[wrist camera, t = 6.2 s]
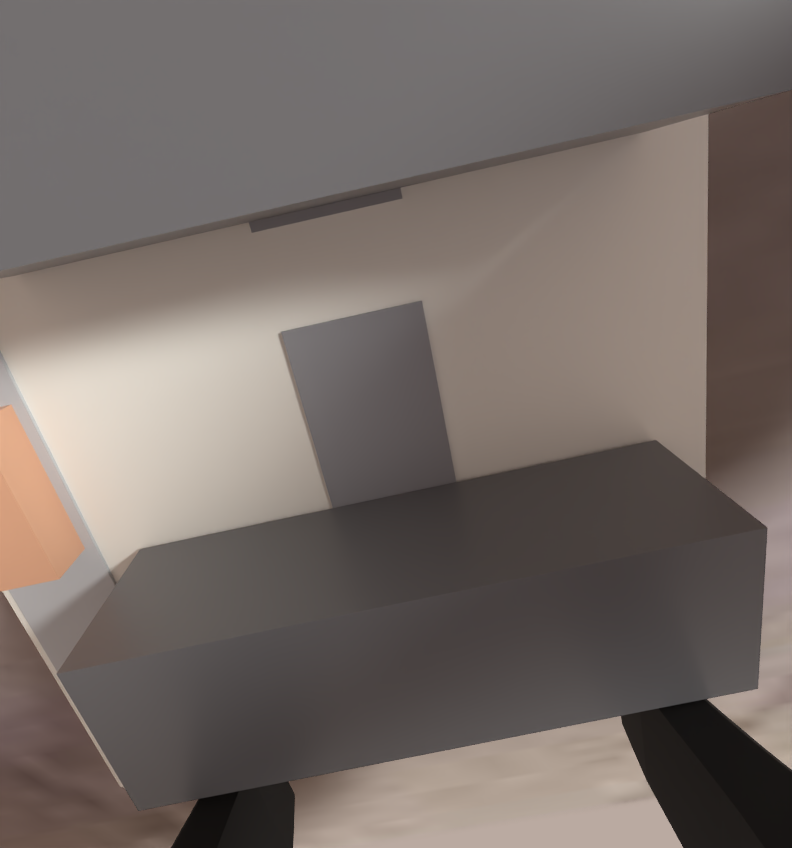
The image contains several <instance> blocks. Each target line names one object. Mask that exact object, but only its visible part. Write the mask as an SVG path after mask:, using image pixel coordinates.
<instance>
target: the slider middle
mask: <svg viewBox="0 0 792 848" xmlns="http://www.w3.org/2000/svg"><path fill="white" fill-rule="evenodd" d="M790 90H792V0H0V278H5V277H11V276H15V275H20V274H24V273H29V272H33V271H37V270H42V269H46V268H50V267H55V266H59V265H64V264H68V263H72V262H77V261H81V260H85V259H90V258H94V257H99V256H103V255H107V254H112V253H116V252H121V251H125V250H129V249H134V248H138V247H142V246H147V245H151V244H156V243H160V242H164V241H169V240H173V239H177V238H182V237H186V236H191V235H195V234H199V233H204V232H208V231H213V230H217V229H221V228H226V227H230V226H234V225H239V224H243V223H248V222H252V221H256V220H261V219H265V218H270V217H274V216H278V215H283V214H287V213H291V212H296V211H300V210H305V209H309V208H313V207H318V206H322V205H326V204H331V203H335V202H340V201H344V200H348V199H353V198H357V197H362V196H366V195H370V194H375V193H379V192H383V191H388V190H392V189H397V188H401V187H405V186H410V185H414V184H418V183H423V182H427V181H432V180H436V179H440V178H445V177H449V176H454V175H458V174H462V173H467V172H471V171H475V170H480V169H484V168H489V167H493V166H497V165H502V164H506V163H510V162H515V161H519V160H524V159H528V158H532V157H537V156H541V155H546V154H550V153H554V152H559V151H563V150H567V149H572V148H576V147H581V146H585V145H589V144H594V143H598V142H602V141H607V140H611V139H616V138H620V137H624V136H629V135H633V134H638V133H642V132H646V131H650V130H653V129H657V128H660V127H664V126H667V125H671V124H674V123H678V122H681V121H685V120H688V119H692V118H695V117H699V116H702V115H706V114H709V113H713V112H716V111H720V110H723V109H727V108H730V107H734V106H737V105H741V104H744V103H748V102H751V101H755V100H758V99H762V98H765V97H769V96H772V95H776V94H779V93H783V92H786V91H790Z"/></svg>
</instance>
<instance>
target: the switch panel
mask: <svg viewBox="0 0 792 848" xmlns="http://www.w3.org/2000/svg"><path fill="white" fill-rule="evenodd" d="M707 239H708V114H706V115H702V116H699V117H695V118H692V119H688V120H685V121H681V122H678V123H674V124H671V125H667V126H664V127H660V128H657V129H653V130H650V131H646V132H642V133H638V134H633V135H629V136H624V137H620V138H616V139H611V140H607V141H602V142H598V143H594V144H589V145H585V146H581V147H576V148H572V149H567V150H563V151H559V152H554V153H550V154H546V155H541V156H537V157H532V158H528V159H524V160H519V161H515V162H510V163H506V164H502V165H497V166H493V167H489V168H484V169H480V170H475V171H471V172H467V173H462V174H458V175H454V176H449V177H445V178H440V179H436V180H432V181H427V182H423V183H418V184H414V185H410V186H405V187H401V188H397V189H392V190H388V191H383V192H379V193H375V194H370V195H366V196H362V197H357V198H353V199H348V200H344V201H340V202H335V203H331V204H326V205H322V206H318V207H313V208H309V209H305V210H300V211H296V212H291V213H287V214H283V215H278V216H274V217H270V218H265V219H261V220H256V221H252V222H248V223H243V224H239V225H234V226H230V227H226V228H221V229H217V230H213V231H208V232H204V233H199V234H195V235H191V236H186V237H182V238H177V239H173V240H169V241H164V242H160V243H156V244H151V245H147V246H142V247H138V248H134V249H129V250H125V251H121V252H116V253H112V254H107V255H103V256H99V257H94V258H90V259H85V260H81V261H77V262H72V263H68V264H64V265H59V266H55V267H50V268H46V269H42V270H37V271H33V272H29V273H24V274H20V275H15V276H11V277H5V278H0V592H1V591H2V592H3V593H4V595H5V597H6V598H7V600H8V602H9V603H10V605H11V607H12V608H13V610H14V612H15V613H16V615H17V617H18V618H19V620H20V622H21V623H22V625H23V627H24V628H25V630H26V631H27V633H28V635H29V636H30V638H31V640H32V641H33V643H34V645H35V646H36V648H37V650H38V651H39V653H40V655H41V656H42V658H43V660H44V661H45V663H46V665H47V666H48V668H49V670H50V671H51V673H52V675H53V676H54V678H55V680H56V681H57V683H58V685H59V686H60V688H61V690H62V691H63V693H64V695H65V696H66V698H67V700H68V701H69V703H70V704H71V706H72V708H73V709H74V711H75V713H76V714H77V716H78V718H79V719H80V721H81V723H82V724H83V726H84V728H85V729H86V731H87V733H88V734H89V736H90V738H91V739H92V741H93V743H94V744H95V746H96V748H97V749H98V751H99V753H100V754H101V756H102V758H103V759H104V761H105V763H106V764H107V766H108V768H109V769H110V771H111V773H112V774H113V776H114V777H115V779H116V781H117V782H118V784H119V786H120V787H124V786H123V784H122V783H121V781H120V779H119V778H118V776H117V774H116V773H115V771H114V769H113V768H112V766H111V764H110V763H109V761H108V759H107V758H106V756H105V754H104V753H103V751H102V749H101V748H100V746H99V744H98V743H97V741H96V739H95V738H94V736H93V734H92V733H91V731H90V729H89V728H88V726H87V724H86V723H85V721H84V719H83V718H82V716H81V714H80V713H79V711H78V709H77V708H76V706H75V704H74V703H73V701H72V699H71V698H70V696H69V694H68V693H67V691H66V689H65V688H64V686H63V684H62V683H61V681H60V679H59V678H58V676H57V672H58V671H59V669H60V668H61V666H62V665H63V663H64V662H65V660H66V659H67V657H68V656H69V654H70V653H71V651H72V650H73V648H74V647H75V645H76V644H77V642H78V641H79V639H80V638H81V636H82V635H83V633H84V632H85V630H86V629H87V627H88V626H89V624H90V623H91V621H92V620H93V618H94V617H95V615H96V614H97V612H98V611H99V609H100V608H101V606H102V605H103V603H104V602H105V600H106V599H107V597H108V596H109V594H110V593H111V592H112V590H113V589H114V587H115V586H116V584H117V583H118V581H119V580H120V578H121V577H122V575H123V574H124V572H125V571H126V569H127V568H128V566H129V565H130V563H131V562H132V560H133V559H134V557H135V556H136V554H137V553H138V551H139V550H140V549H143V548H148V547H152V546H157V545H162V544H166V543H171V542H176V541H181V540H185V539H190V538H195V537H199V536H204V535H209V534H214V533H218V532H223V531H228V530H233V529H237V528H242V527H247V526H251V525H256V524H261V523H266V522H270V521H275V520H280V519H285V518H289V517H294V516H299V515H303V514H308V513H313V512H318V511H322V510H327V509H332V508H337V507H341V506H346V505H351V504H355V503H360V502H365V501H370V500H374V499H379V498H384V497H389V496H393V495H398V494H403V493H407V492H412V491H417V490H422V489H426V488H431V487H436V486H441V485H445V484H450V483H455V482H459V481H464V480H469V479H474V478H478V477H483V476H488V475H493V474H497V473H502V472H507V471H511V470H516V469H521V468H526V467H530V466H535V465H540V464H544V463H549V462H554V461H559V460H563V459H568V458H573V457H578V456H582V455H587V454H592V453H596V452H601V451H606V450H611V449H615V448H620V447H625V446H630V445H634V444H639V443H644V442H648V441H653V440H657V441H658V442H659V443H660V444H662V445H663V446H664V447H666V448H667V449H668V450H669V451H671V452H672V453H673V454H674V455H676V456H677V457H678V458H680V459H681V460H682V461H683V462H685V463H686V464H687V465H688V466H690V467H691V468H692V469H694V470H695V471H696V472H697V473H699V474H700V475H701V476H702V477H704V478H705V479H706V365H707Z"/></svg>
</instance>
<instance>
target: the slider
mask: <svg viewBox="0 0 792 848" xmlns="http://www.w3.org/2000/svg"><path fill="white" fill-rule="evenodd" d="M766 543H767V527H766V526H765V525H763V524H762V523H761V522H760V521H758V520H757V519H756V518H754V517H753V516H752V515H751V514H749V513H748V512H747V511H746V510H744V509H743V508H742V507H741V506H739V505H738V504H737V503H735V502H734V501H733V500H732V499H730V498H729V497H728V496H727V495H725V494H724V493H723V492H721V491H720V490H719V489H718V488H716V487H715V486H714V485H713V484H711V483H710V482H709V481H707V480H706V479H705V478H704V477H702V476H701V475H700V474H699V473H697V472H696V471H695V470H694V469H692V468H691V467H690V466H688V465H687V464H686V463H685V462H683V461H682V460H681V459H680V458H678V457H677V456H676V455H674V454H673V453H672V452H671V451H669V450H668V449H667V448H666V447H664V446H663V445H662V444H660V443H659V442H658V441H657V440H653V441H648V442H644V443H639V444H634V445H630V446H625V447H620V448H615V449H611V450H606V451H601V452H596V453H592V454H587V455H582V456H578V457H573V458H568V459H563V460H559V461H554V462H549V463H544V464H540V465H535V466H530V467H526V468H521V469H516V470H511V471H507V472H502V473H497V474H493V475H488V476H483V477H478V478H474V479H469V480H464V481H459V482H455V483H450V484H445V485H441V486H436V487H431V488H426V489H422V490H417V491H412V492H407V493H403V494H398V495H393V496H389V497H384V498H379V499H374V500H370V501H365V502H360V503H355V504H351V505H346V506H341V507H337V508H332V509H327V510H322V511H318V512H313V513H308V514H303V515H299V516H294V517H289V518H285V519H280V520H275V521H270V522H266V523H261V524H256V525H251V526H247V527H242V528H237V529H233V530H228V531H223V532H218V533H214V534H209V535H204V536H199V537H195V538H190V539H185V540H181V541H176V542H171V543H166V544H162V545H157V546H152V547H148V548H143V549H140V550H139V551H138V553H137V554H136V556H135V557H134V559H133V560H132V562H131V563H130V565H129V566H128V568H127V569H126V571H125V572H124V574H123V575H122V577H121V578H120V580H119V581H118V583H117V584H116V586H115V587H114V589H113V590H112V592H111V593H110V594H109V596H108V597H107V599H106V600H105V602H104V603H103V605H102V606H101V608H100V609H99V611H98V612H97V614H96V615H95V617H94V618H93V620H92V621H91V623H90V624H89V626H88V627H87V629H86V630H85V632H84V633H83V635H82V636H81V638H80V639H79V641H78V642H77V644H76V645H75V647H74V648H73V650H72V651H71V653H70V654H69V656H68V657H67V659H66V660H65V662H64V663H63V665H62V666H61V668H60V669H59V671H58V672H57V676H58V678H59V679H60V681H61V683H62V684H63V686H64V688H65V689H66V691H67V693H68V694H69V696H70V698H71V699H72V701H73V703H74V704H75V706H76V708H77V709H78V711H79V713H80V714H81V716H82V718H83V719H84V721H85V723H86V724H87V726H88V728H89V729H90V731H91V733H92V734H93V736H94V738H95V739H96V741H97V743H98V744H99V746H100V748H101V749H102V751H103V753H104V754H105V756H106V758H107V759H108V761H109V763H110V764H111V766H112V768H113V769H114V771H115V773H116V774H117V776H118V778H119V779H120V781H121V783H122V784H123V786H124V788H125V789H126V791H127V793H128V794H129V796H130V798H131V800H132V801H133V803H134V805H135V806H136V808H137V810H138V811H140V810H145V809H150V808H155V807H161V806H166V805H171V804H176V803H181V802H186V801H191V800H196V799H201V798H206V797H211V796H216V795H221V794H226V793H232V792H237V791H242V790H247V789H252V788H257V787H262V786H267V785H272V784H277V783H282V782H287V781H292V780H297V779H303V778H308V777H313V776H318V775H323V774H328V773H333V772H338V771H343V770H348V769H353V768H358V767H363V766H368V765H374V764H379V763H384V762H389V761H394V760H399V759H404V758H409V757H414V756H419V755H424V754H429V753H434V752H439V751H445V750H450V749H455V748H460V747H465V746H470V745H475V744H480V743H485V742H490V741H495V740H500V739H505V738H510V737H516V736H521V735H526V734H531V733H536V732H541V731H546V730H551V729H556V728H561V727H566V726H571V725H576V724H581V723H587V722H592V721H597V720H602V719H607V718H612V717H617V716H622V715H627V714H632V713H637V712H642V711H647V710H652V709H658V708H663V707H668V706H673V705H678V704H683V703H688V702H693V701H698V700H703V699H708V698H713V697H718V696H723V695H729V694H734V693H739V692H744V691H749V690H754V689H758V678H759V661H760V645H761V628H762V611H763V594H764V577H765V560H766Z"/></svg>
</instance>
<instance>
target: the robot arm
mask: <svg viewBox="0 0 792 848" xmlns="http://www.w3.org/2000/svg"><path fill="white" fill-rule="evenodd" d="M621 719H622V724H623V727H624V729H625V731H626V734H627V736H628V738H629V741H630V743H631V745H632V748H633V750H634V752H635V755H636V757H637V759H638V762H639V764H640V766H641V768H642V771H643V773H644V775H645V777H646V780H647V782H648V784H649V785H650V787H651V789H652V791H653V793H654V795H655V797H656V798H657V800H658V802H659V804H660V806H661V808H662V809H663V811H664V813H665V815H666V817H667V819H668V820H669V822H670V824H671V826H672V828H673V830H674V831H675V833H676V835H677V837H678V839H679V840H680V842H681V844H682V846H683V848H792V770H791V769H790V768H789V767H787V766H786V765H785V764H783V763H782V762H781V761H780V760H778V759H777V758H776V757H775V756H773V755H772V754H771V753H770V752H768V751H767V750H766V749H765V748H763V747H762V746H761V745H760V744H759V743H757V742H756V741H755V740H754V739H753V738H751V737H750V736H749V735H748V734H747V733H746V732H744V731H743V730H742V729H741V728H740V727H738V726H737V725H736V724H735V723H734V722H732V721H731V720H730V719H729V718H728V717H727V716H725V715H724V714H723V713H722V712H721V711H720V710H718V709H717V708H716V707H715V706H714V705H713V704H712V703H710V702H709V701H708V700H707V699H703V700H698V701H693V702H688V703H683V704H678V705H673V706H668V707H663V708H658V709H652V710H647V711H642V712H637V713H632V714H627V715H622V716H621ZM294 802H295V794H294V792H293V790H292V788H291V786H290V784H289V782H288V781H287V782H282V783H277V784H272V785H267V786H262V787H257V788H252V789H247V790H242V791H237V792H232V793H226V794H221V795H216V796H211V797H206V798H201V799H198V801H197V803H196V805H195V806H194V808H193V810H192V812H191V814H190V815H189V817H188V819H187V821H186V823H185V824H184V826H183V828H182V829H181V831H180V833H179V835H178V836H177V838H176V840H175V842H174V843H173V845H172V847H171V848H293V836H294Z"/></svg>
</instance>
